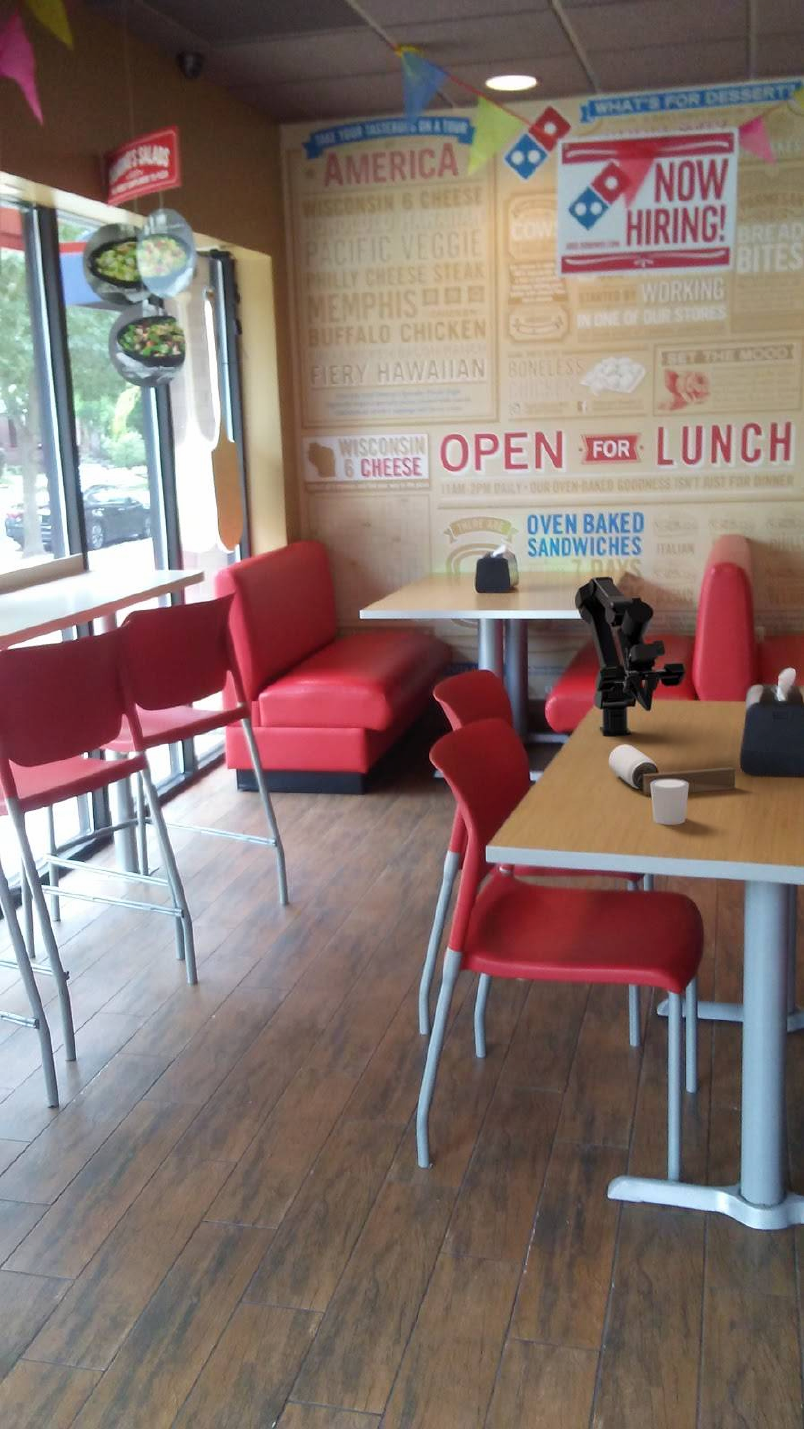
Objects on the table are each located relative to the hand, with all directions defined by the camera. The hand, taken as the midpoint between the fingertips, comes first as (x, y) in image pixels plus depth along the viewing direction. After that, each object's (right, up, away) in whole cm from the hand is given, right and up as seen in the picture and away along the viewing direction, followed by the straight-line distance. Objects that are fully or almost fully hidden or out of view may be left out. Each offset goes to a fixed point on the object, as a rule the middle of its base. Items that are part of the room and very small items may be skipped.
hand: (648, 710), depth 274 cm
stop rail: (+4, -16, -21) cm, 27 cm away
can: (-7, -10, -8) cm, 15 cm away
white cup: (-3, -20, -38) cm, 43 cm away
